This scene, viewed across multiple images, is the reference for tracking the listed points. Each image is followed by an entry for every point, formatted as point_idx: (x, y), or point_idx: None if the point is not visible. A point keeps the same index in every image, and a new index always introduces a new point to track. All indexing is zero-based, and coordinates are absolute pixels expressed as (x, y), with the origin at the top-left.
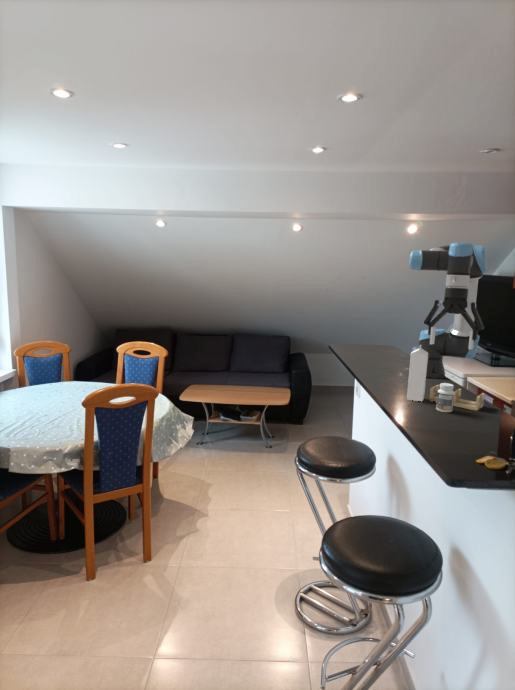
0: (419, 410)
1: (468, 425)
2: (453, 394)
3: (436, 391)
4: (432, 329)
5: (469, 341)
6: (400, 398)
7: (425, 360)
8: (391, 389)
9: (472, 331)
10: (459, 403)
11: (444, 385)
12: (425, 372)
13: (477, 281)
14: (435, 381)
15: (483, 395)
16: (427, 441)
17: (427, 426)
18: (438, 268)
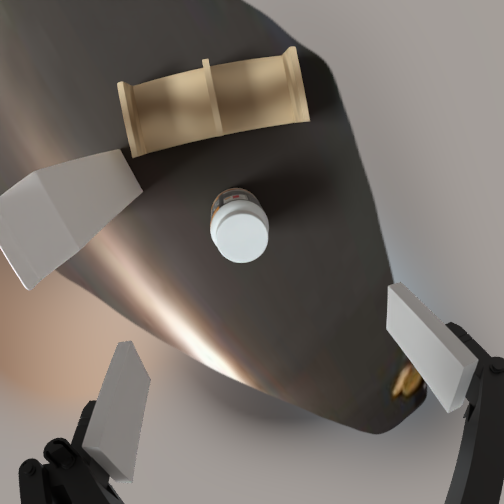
0: (196, 275)
1: (340, 274)
2: (268, 225)
3: (133, 106)
4: (131, 465)
5: (412, 359)
6: None
7: (88, 240)
8: (12, 159)
9: (459, 403)
10: (240, 125)
11: (245, 261)
12: (104, 204)
13: None
14: None
15: (296, 58)
16: (320, 401)
17: (283, 354)
18: None
